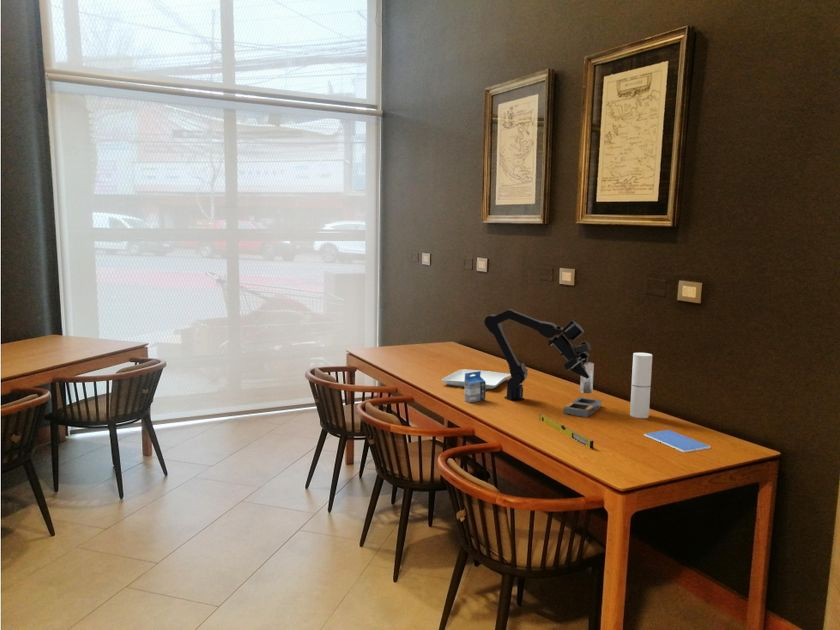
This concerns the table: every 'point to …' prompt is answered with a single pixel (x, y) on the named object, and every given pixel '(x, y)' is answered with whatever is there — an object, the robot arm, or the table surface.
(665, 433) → the tablet computer
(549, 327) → the robot arm
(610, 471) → the table surface
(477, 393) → the label tape box
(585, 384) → the steel peg
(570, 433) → the spirit level
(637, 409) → the cylindrical container
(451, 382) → the square plate
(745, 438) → the table surface
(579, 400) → the grey flat frame
